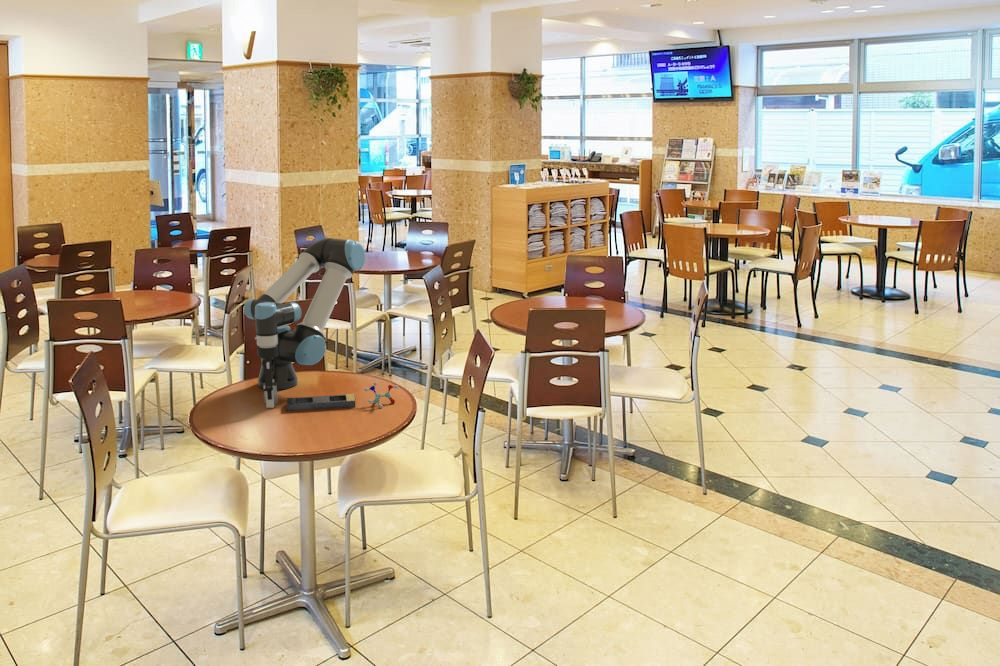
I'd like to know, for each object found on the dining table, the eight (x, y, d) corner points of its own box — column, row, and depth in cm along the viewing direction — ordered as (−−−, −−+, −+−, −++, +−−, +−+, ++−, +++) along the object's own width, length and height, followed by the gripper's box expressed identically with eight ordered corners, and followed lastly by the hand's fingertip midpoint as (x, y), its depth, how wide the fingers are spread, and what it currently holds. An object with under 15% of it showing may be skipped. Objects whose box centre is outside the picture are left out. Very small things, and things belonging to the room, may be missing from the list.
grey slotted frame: (287, 404, 321) (287, 397, 320) (354, 400, 326) (353, 393, 325) (287, 411, 313) (287, 404, 313) (355, 407, 318) (355, 400, 318)
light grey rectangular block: (265, 400, 325) (263, 382, 323) (277, 400, 326) (276, 382, 324) (264, 404, 321) (263, 386, 319) (277, 403, 322) (276, 385, 320)
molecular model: (390, 401, 313) (380, 376, 315) (368, 412, 316) (358, 387, 318) (404, 401, 324) (394, 377, 326) (383, 412, 327) (374, 387, 329)
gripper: (258, 337, 329) (261, 392, 334) (255, 354, 306) (259, 413, 311) (278, 336, 330) (281, 391, 336) (277, 353, 307) (280, 411, 312)
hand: (270, 401), depth 323 cm, fingers open, 12 cm apart
